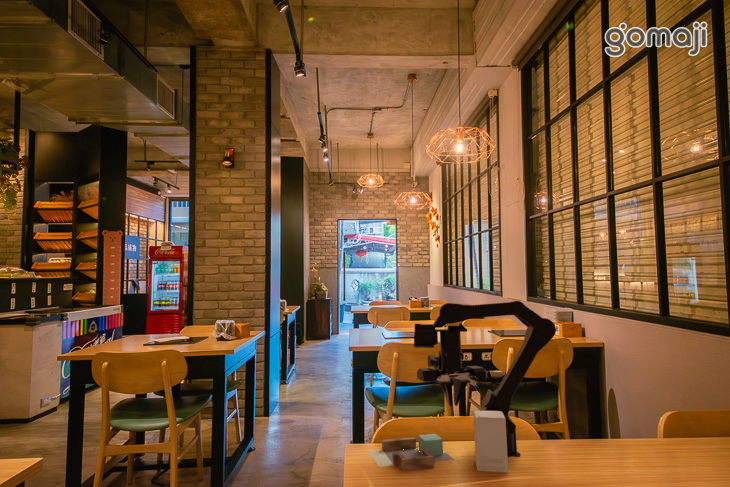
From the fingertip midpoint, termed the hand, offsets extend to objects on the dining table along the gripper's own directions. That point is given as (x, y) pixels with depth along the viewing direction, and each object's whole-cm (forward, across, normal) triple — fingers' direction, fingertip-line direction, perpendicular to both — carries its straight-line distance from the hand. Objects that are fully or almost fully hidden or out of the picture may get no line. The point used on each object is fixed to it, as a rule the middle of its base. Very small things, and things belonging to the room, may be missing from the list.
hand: (453, 405), depth 118 cm
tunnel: (+12, +14, +2) cm, 19 cm away
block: (+12, +7, 0) cm, 14 cm away
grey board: (+12, +13, 0) cm, 18 cm away
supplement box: (+12, -4, +12) cm, 18 cm away
